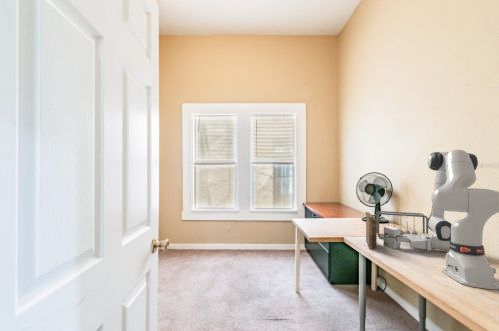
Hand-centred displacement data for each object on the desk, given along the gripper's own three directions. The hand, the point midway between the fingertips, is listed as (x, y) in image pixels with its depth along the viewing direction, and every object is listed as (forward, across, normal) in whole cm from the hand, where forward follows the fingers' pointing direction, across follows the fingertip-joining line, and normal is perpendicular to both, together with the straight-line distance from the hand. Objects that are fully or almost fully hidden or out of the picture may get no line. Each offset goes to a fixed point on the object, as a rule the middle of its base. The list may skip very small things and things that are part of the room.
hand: (399, 239), depth 163 cm
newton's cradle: (-5, -25, +5) cm, 26 cm away
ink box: (+4, 0, +5) cm, 7 cm away
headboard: (+16, 0, +5) cm, 17 cm away
